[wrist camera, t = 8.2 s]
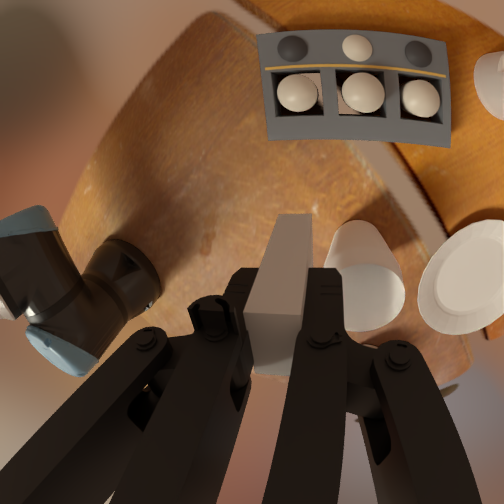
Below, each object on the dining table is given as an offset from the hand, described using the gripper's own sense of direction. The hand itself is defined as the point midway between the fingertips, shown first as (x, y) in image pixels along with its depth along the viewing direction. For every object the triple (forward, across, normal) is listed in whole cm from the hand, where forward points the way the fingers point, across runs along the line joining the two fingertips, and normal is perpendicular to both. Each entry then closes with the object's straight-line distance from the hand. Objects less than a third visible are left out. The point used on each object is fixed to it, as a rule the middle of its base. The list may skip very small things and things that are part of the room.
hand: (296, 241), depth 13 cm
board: (+22, +6, +8) cm, 24 cm away
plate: (+22, +26, -17) cm, 38 cm away
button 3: (+21, +13, +7) cm, 26 cm away
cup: (+22, +6, -12) cm, 26 cm away
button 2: (+20, +6, +7) cm, 22 cm away
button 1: (+22, 0, +7) cm, 23 cm away
